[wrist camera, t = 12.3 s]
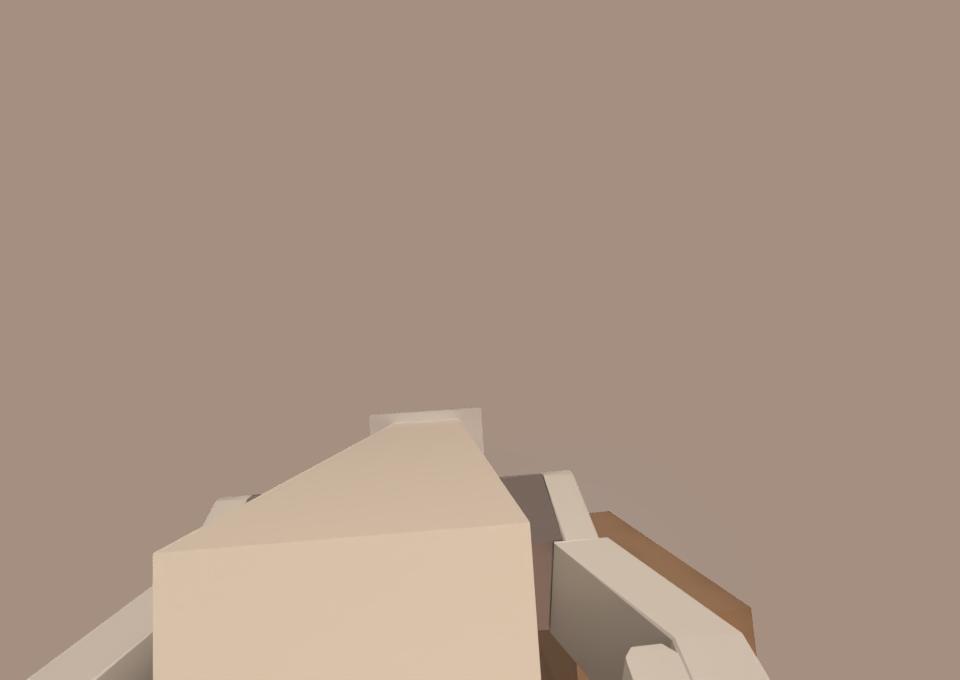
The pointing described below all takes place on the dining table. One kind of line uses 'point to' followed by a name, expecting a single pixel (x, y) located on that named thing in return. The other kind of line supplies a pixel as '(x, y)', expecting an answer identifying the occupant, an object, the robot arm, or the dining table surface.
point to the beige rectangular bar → (359, 570)
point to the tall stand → (558, 666)
